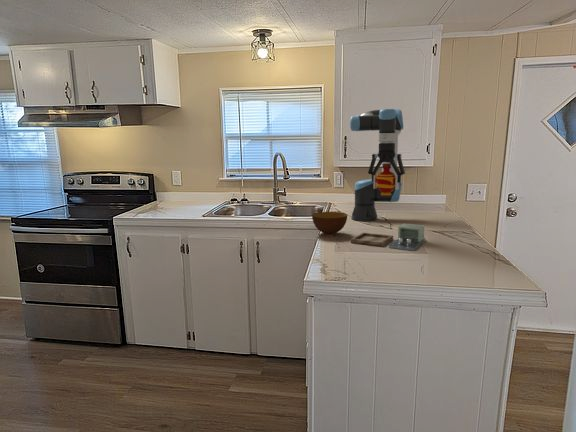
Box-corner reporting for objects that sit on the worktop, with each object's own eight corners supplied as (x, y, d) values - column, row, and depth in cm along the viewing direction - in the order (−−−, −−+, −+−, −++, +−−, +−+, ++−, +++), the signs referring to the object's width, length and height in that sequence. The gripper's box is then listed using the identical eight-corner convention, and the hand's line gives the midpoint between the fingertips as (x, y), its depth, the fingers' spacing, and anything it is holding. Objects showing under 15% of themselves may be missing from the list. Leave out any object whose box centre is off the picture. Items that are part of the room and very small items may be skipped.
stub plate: (388, 247, 177) (388, 239, 176) (402, 238, 193) (402, 230, 193) (414, 250, 171) (414, 242, 170) (425, 240, 188) (426, 233, 187)
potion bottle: (397, 193, 200) (398, 163, 198) (395, 196, 191) (396, 164, 188) (376, 193, 204) (376, 163, 201) (373, 195, 194) (373, 164, 191)
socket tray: (350, 242, 187) (350, 239, 186) (363, 236, 199) (363, 232, 199) (382, 246, 179) (382, 242, 178) (393, 239, 191) (393, 235, 191)
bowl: (305, 235, 204) (304, 215, 202) (326, 229, 217) (326, 210, 215) (333, 240, 192) (333, 219, 191) (354, 233, 205) (354, 214, 203)
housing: (398, 239, 186) (398, 226, 185) (402, 236, 192) (402, 223, 190) (419, 241, 181) (420, 228, 179) (423, 238, 186) (424, 225, 185)
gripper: (361, 143, 195) (360, 188, 200) (408, 142, 184) (407, 190, 188) (367, 142, 202) (366, 187, 206) (413, 142, 190) (411, 189, 194)
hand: (385, 188), depth 197 cm, fingers closed on potion bottle, 10 cm apart
